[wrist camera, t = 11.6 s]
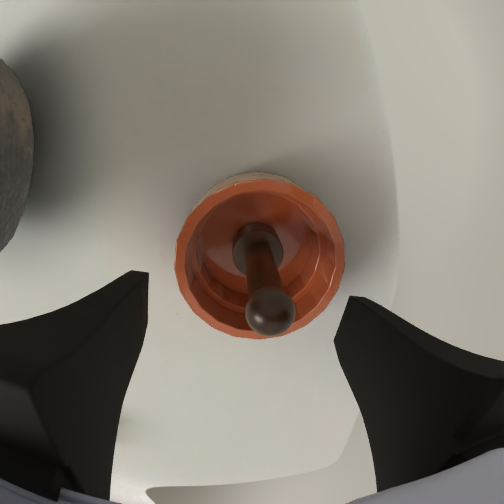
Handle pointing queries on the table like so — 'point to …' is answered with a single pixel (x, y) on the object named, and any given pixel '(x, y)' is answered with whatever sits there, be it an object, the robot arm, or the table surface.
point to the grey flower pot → (13, 152)
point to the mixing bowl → (291, 237)
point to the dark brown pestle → (263, 279)
